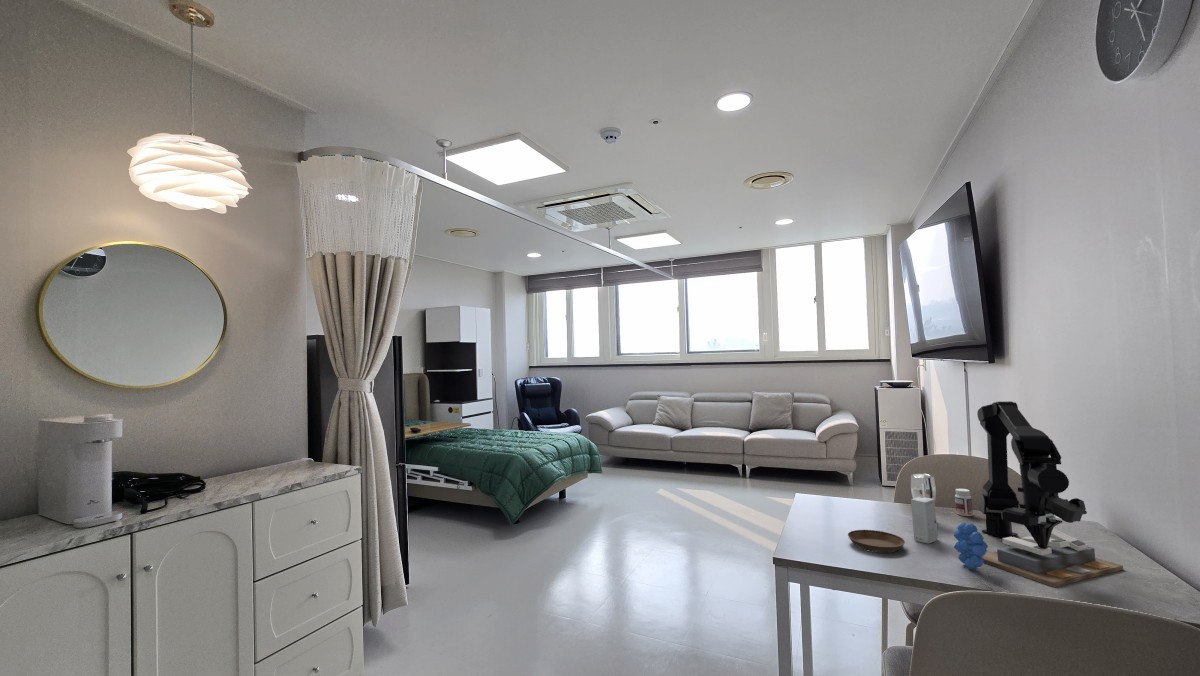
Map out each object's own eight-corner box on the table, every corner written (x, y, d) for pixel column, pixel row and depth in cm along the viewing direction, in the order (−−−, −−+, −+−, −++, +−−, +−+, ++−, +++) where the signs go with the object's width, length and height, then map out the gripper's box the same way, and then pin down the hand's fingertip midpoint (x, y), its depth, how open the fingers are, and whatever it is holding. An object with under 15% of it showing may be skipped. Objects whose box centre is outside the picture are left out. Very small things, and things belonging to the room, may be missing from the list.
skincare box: (929, 544, 145) (926, 502, 146) (912, 540, 149) (909, 499, 150) (938, 539, 149) (935, 498, 150) (922, 535, 153) (919, 495, 153)
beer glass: (908, 518, 169) (905, 474, 170) (927, 517, 170) (924, 473, 171) (923, 524, 163) (920, 478, 163) (943, 523, 163) (939, 477, 164)
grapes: (1004, 579, 121) (1000, 529, 122) (974, 578, 122) (970, 528, 123) (976, 560, 133) (972, 515, 133) (949, 560, 134) (945, 514, 134)
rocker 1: (1012, 541, 132) (1011, 535, 132) (1051, 553, 123) (1051, 547, 123) (1002, 543, 131) (1002, 537, 131) (1041, 555, 122) (1041, 549, 122)
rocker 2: (1047, 529, 136) (1048, 524, 136) (1087, 549, 128) (1088, 544, 127) (1038, 531, 135) (1039, 526, 135) (1078, 551, 127) (1079, 546, 126)
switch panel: (1040, 545, 141) (1039, 528, 141) (1123, 569, 124) (1121, 549, 124) (975, 559, 133) (973, 541, 134) (1053, 587, 116) (1051, 566, 116)
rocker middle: (1031, 540, 134) (1029, 535, 134) (1070, 545, 125) (1068, 539, 126) (1021, 542, 132) (1020, 537, 133) (1060, 547, 124) (1059, 541, 124)
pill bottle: (970, 512, 173) (968, 488, 174) (975, 516, 169) (973, 491, 169) (954, 512, 175) (952, 487, 175) (958, 515, 170) (956, 491, 171)
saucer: (902, 541, 149) (901, 532, 150) (909, 559, 136) (908, 549, 136) (847, 536, 156) (846, 527, 156) (849, 552, 142) (848, 542, 142)
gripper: (1048, 495, 114) (1055, 565, 113) (1100, 487, 120) (1108, 553, 118) (996, 485, 125) (1003, 549, 123) (1047, 479, 130) (1053, 540, 129)
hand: (1043, 548), depth 123 cm, fingers closed, pressing on rocker 1
